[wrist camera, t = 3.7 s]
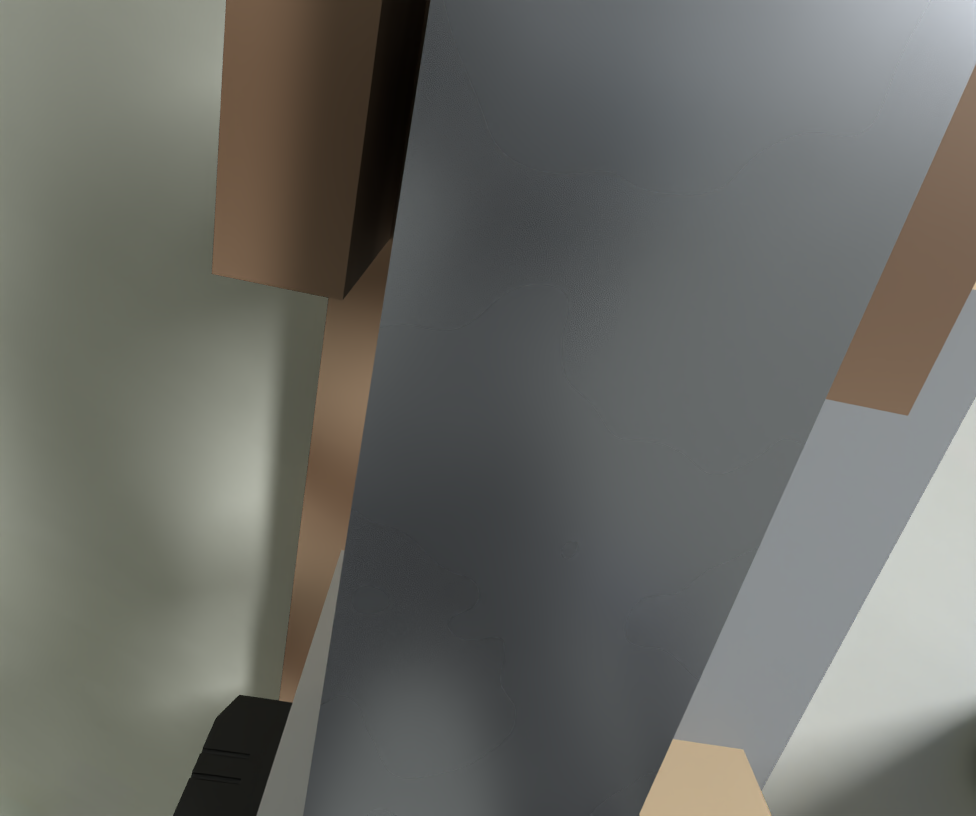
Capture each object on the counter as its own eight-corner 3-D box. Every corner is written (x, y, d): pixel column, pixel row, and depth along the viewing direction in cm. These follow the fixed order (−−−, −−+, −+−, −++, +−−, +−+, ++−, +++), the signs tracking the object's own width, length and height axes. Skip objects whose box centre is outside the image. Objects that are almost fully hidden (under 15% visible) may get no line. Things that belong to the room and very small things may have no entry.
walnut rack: (396, -153, 14) (-2, -1496, 2) (741, -59, 15) (1718, -733, 3) (275, 785, 26) (102, 1353, 14) (475, 812, 27) (474, 1371, 15)
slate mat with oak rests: (860, -82, 15) (984, -148, 11) (1169, 5, 16) (1380, -32, 12) (529, 836, 27) (537, 947, 24) (713, 860, 28) (748, 970, 24)
